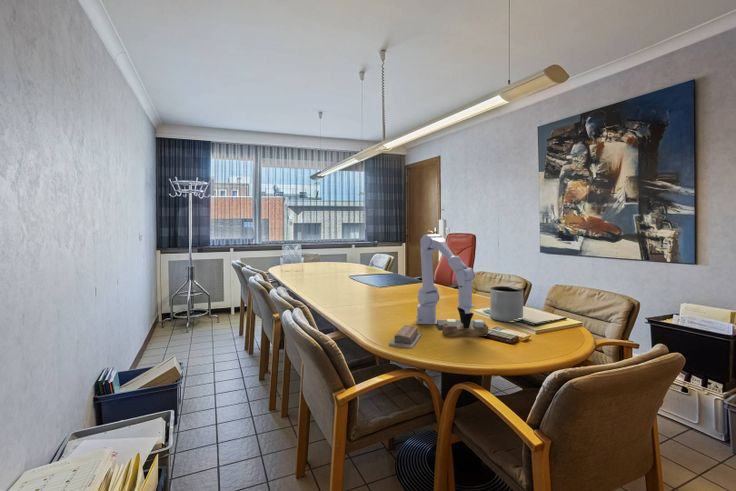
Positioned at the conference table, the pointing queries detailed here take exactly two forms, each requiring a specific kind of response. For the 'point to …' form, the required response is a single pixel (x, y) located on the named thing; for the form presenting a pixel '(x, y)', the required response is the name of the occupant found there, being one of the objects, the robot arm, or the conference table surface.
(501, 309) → the planter
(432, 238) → the robot arm
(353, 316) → the conference table surface
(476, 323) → the crate greyblue
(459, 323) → the dock
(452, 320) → the crate cream
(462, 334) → the brown grey lumpy bar
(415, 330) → the packaged product
